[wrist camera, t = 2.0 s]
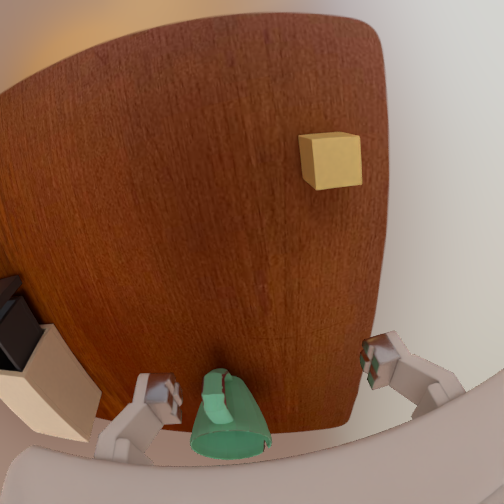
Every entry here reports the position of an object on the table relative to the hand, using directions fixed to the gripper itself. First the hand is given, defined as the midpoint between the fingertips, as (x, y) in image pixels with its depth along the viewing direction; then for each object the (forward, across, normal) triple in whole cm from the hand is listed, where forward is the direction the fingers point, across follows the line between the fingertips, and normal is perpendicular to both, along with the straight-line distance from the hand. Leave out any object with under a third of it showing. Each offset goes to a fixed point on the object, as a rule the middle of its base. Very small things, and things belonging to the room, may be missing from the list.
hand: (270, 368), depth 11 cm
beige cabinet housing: (+17, +33, +17) cm, 40 cm away
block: (+17, -8, -5) cm, 19 cm away
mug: (+17, +6, +21) cm, 28 cm away
